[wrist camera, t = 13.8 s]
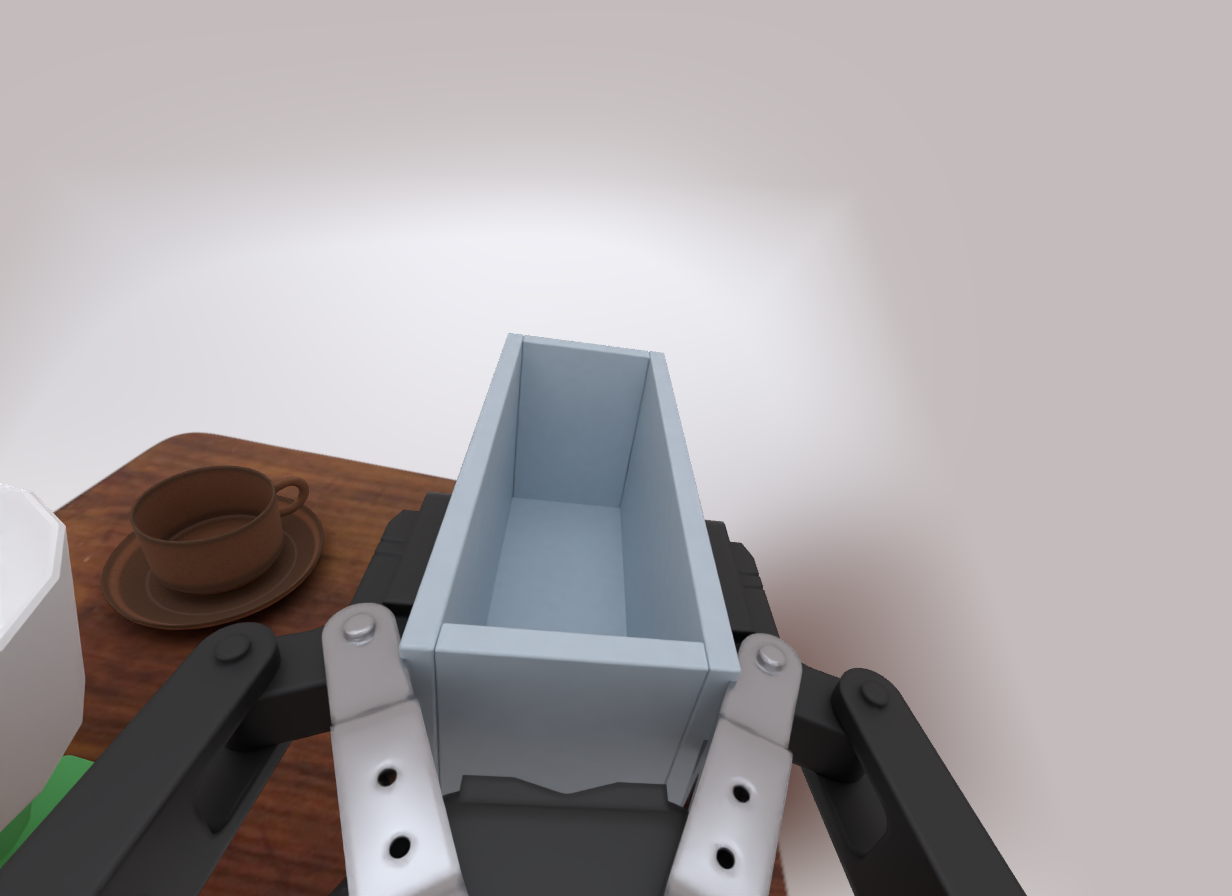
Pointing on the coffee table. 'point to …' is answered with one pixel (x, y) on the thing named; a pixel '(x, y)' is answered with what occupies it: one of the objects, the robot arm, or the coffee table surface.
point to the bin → (572, 583)
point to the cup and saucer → (212, 549)
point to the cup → (36, 667)
